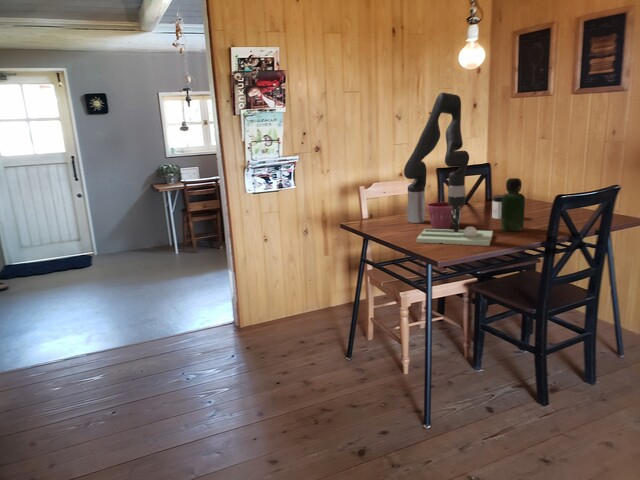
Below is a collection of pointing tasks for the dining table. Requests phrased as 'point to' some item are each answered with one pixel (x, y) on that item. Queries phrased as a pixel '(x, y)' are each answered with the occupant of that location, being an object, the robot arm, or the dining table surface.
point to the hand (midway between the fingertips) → (456, 231)
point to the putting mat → (454, 237)
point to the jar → (496, 206)
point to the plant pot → (440, 215)
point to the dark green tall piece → (513, 207)
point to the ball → (470, 232)
